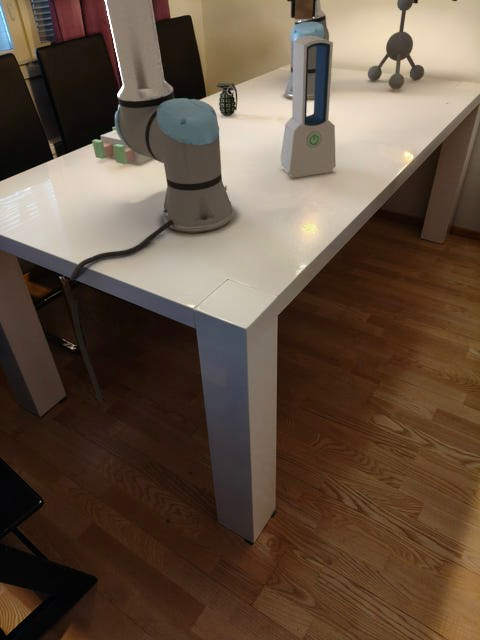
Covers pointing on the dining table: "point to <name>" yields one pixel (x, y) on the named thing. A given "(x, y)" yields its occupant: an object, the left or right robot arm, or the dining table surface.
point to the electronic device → (315, 130)
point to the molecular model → (398, 53)
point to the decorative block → (116, 149)
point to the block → (303, 9)
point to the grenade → (227, 99)
